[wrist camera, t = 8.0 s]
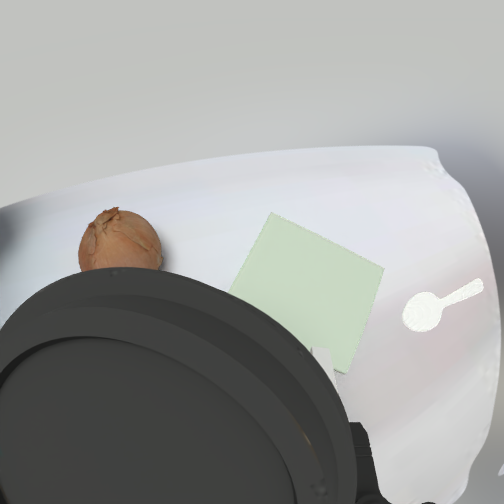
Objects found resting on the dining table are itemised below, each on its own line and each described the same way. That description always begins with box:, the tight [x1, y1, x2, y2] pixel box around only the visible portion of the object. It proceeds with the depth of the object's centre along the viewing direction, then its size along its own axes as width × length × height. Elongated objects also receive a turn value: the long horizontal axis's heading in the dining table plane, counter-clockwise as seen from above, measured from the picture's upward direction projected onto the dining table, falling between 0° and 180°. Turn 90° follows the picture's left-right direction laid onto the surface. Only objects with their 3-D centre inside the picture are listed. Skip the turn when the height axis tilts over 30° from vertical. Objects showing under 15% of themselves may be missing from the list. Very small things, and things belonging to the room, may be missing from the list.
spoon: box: [402, 278, 484, 332], centre depth 36 cm, size 5×18×1 cm, turn 105°
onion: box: [78, 207, 163, 272], centre depth 31 cm, size 10×9×10 cm
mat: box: [228, 212, 384, 374], centre depth 35 cm, size 16×14×1 cm
